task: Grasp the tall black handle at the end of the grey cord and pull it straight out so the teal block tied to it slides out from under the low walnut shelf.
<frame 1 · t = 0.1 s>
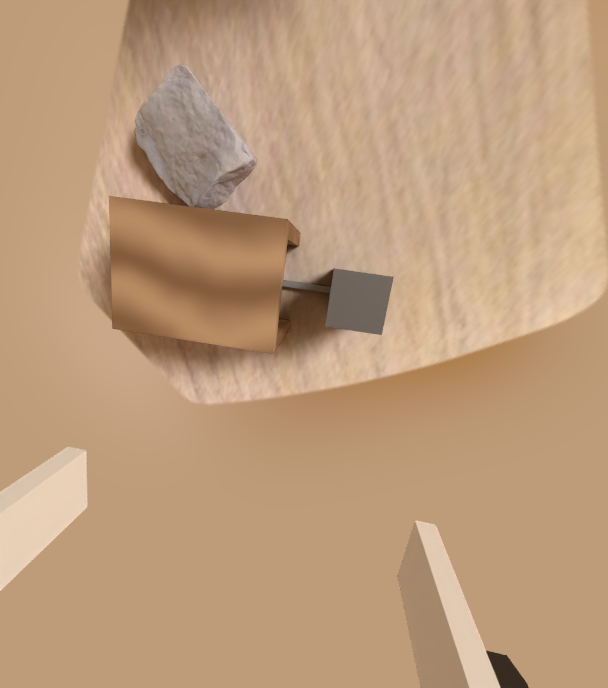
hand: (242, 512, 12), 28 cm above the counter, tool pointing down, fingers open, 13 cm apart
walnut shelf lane: (230, 275, 38), on the counter
tethered block: (214, 273, 38), on the counter
stone block: (199, 154, 35), on the counter
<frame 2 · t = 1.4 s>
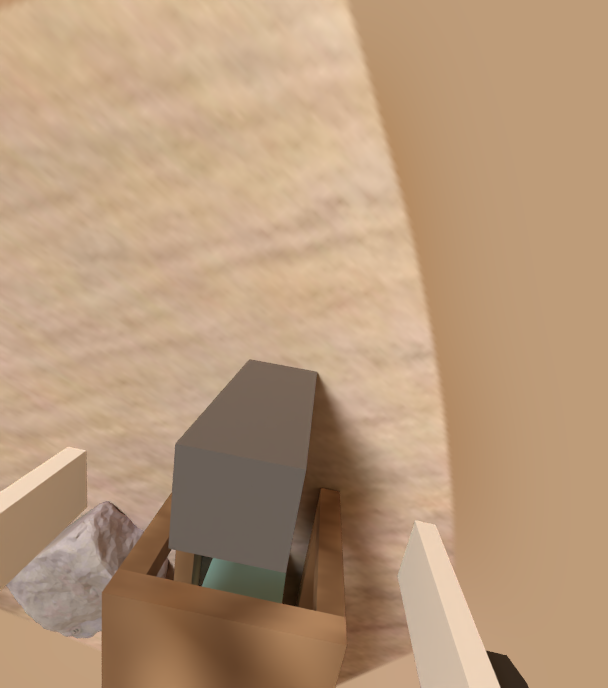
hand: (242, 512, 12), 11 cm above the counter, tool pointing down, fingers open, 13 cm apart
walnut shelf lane: (253, 554, 26), on the counter
tethered block: (250, 572, 27), on the counter
stone block: (107, 557, 28), on the counter
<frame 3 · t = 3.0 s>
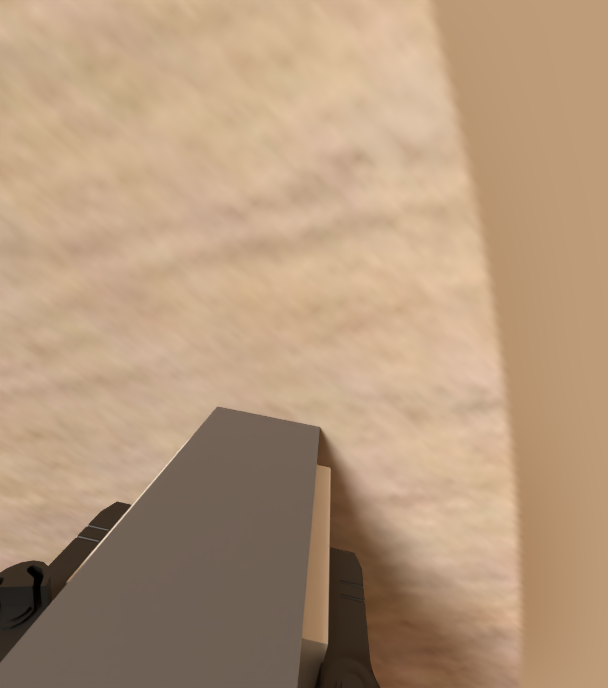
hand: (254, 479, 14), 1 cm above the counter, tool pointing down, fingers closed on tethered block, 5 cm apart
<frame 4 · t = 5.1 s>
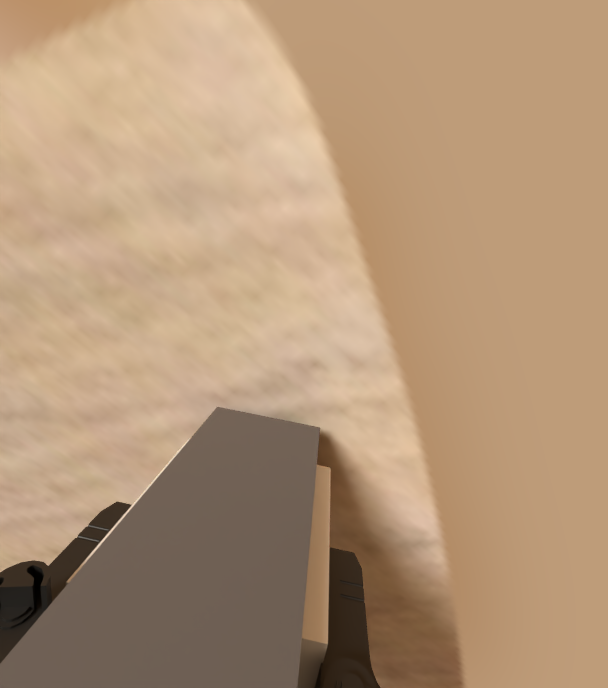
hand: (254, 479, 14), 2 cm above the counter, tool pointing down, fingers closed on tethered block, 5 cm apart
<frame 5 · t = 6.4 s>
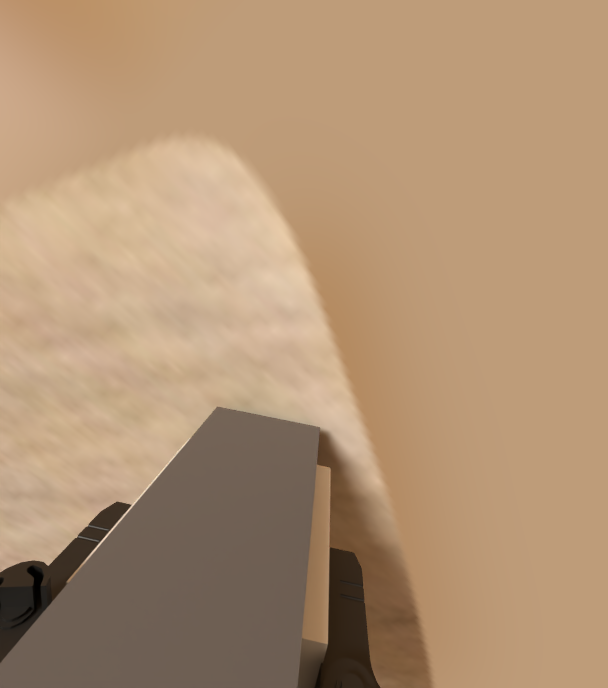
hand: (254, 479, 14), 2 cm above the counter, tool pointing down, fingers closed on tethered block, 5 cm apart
when the fingers open (2 cm above the counter, at t = 7.3 s): tethered block stays where it is, on the counter.
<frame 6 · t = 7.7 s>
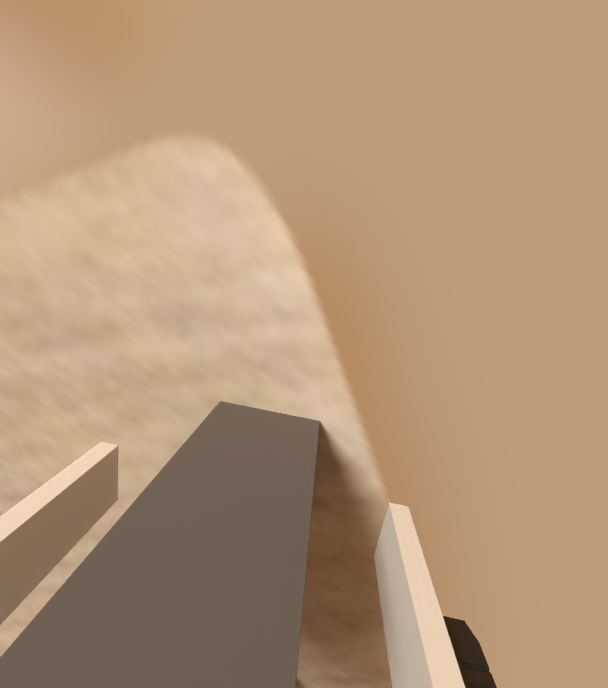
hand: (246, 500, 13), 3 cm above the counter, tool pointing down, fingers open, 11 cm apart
tethered block: (228, 679, 20), on the counter
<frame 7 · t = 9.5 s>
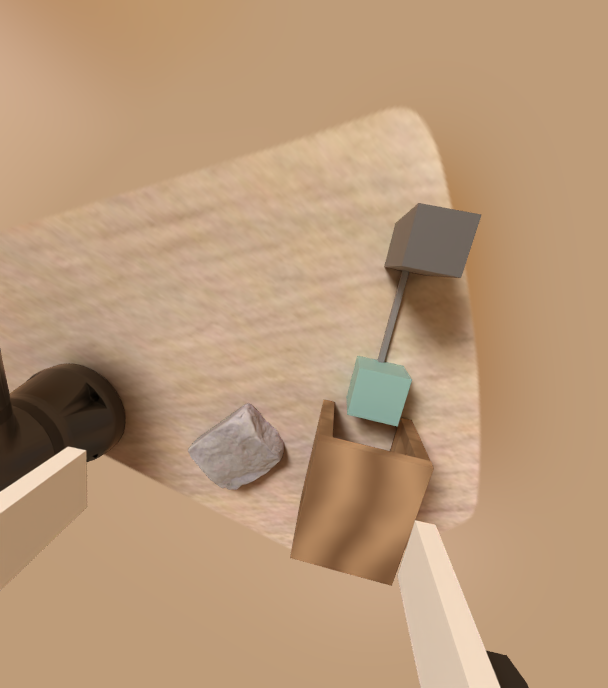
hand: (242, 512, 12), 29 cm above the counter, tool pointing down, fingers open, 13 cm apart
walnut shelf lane: (353, 459, 43), on the counter
tethered block: (374, 382, 40), on the counter
stone block: (243, 443, 45), on the counter
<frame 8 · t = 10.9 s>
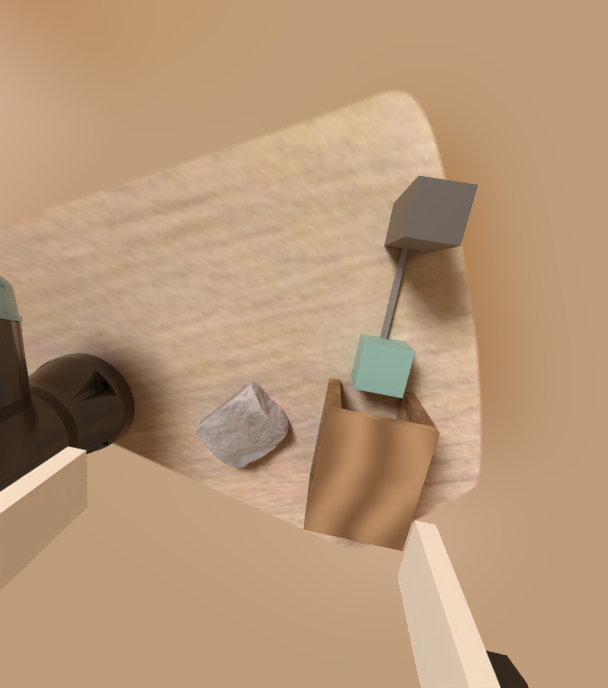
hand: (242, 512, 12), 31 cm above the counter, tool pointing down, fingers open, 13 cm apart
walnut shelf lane: (359, 436, 44), on the counter
tethered block: (377, 358, 41), on the counter
stone block: (248, 422, 46), on the counter
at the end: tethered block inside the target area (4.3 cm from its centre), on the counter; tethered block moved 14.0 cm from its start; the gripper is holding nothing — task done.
